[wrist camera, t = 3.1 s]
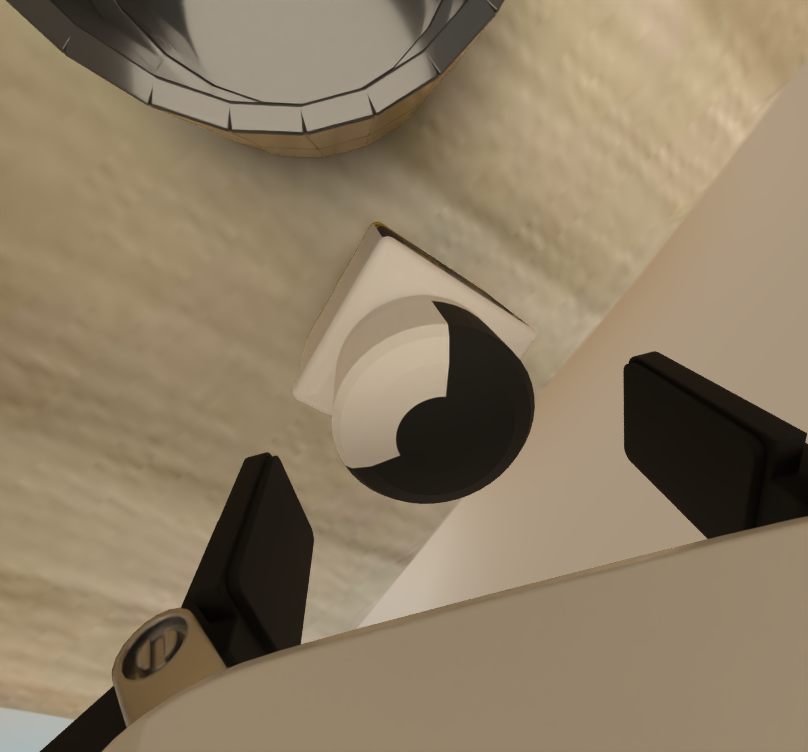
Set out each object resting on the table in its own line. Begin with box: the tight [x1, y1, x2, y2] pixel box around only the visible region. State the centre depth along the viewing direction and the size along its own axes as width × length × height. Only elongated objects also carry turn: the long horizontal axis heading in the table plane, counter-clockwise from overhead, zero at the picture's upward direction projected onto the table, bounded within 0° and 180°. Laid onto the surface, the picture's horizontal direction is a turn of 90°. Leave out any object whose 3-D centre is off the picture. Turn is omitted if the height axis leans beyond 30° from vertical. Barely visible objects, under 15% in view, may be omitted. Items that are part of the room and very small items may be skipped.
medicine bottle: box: [293, 222, 535, 504], centre depth 17 cm, size 7×7×12 cm
